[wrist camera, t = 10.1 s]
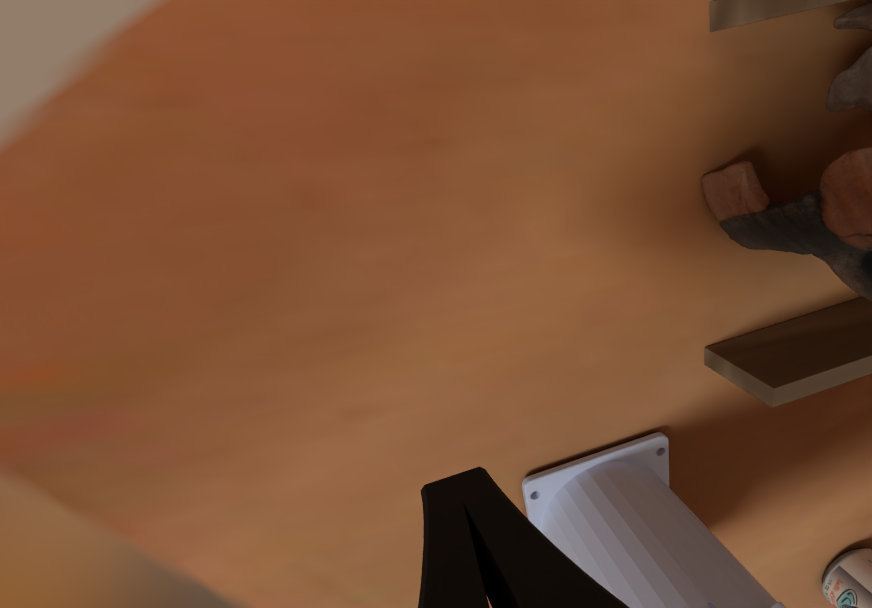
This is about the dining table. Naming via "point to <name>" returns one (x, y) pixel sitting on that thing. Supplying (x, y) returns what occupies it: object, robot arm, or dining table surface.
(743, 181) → the brown hollow ring part
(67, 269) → the dining table surface
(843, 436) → the dining table surface
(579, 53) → the dining table surface
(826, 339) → the box
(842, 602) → the supplement bottle
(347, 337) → the dining table surface
